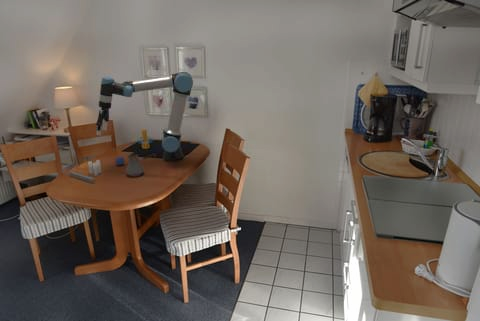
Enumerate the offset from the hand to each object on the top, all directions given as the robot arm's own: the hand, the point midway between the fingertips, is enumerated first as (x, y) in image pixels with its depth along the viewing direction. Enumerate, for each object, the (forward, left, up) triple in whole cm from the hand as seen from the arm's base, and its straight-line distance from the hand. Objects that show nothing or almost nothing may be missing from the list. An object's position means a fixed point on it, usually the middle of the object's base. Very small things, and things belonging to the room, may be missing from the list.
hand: (101, 132), depth 224 cm
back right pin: (+1, +12, -26) cm, 28 cm away
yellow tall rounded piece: (+13, -48, -26) cm, 56 cm away
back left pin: (-4, +12, -26) cm, 29 cm away
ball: (-2, -10, -23) cm, 25 cm away
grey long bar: (-2, +20, -26) cm, 33 cm away
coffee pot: (-30, -5, -26) cm, 40 cm away
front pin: (-2, +7, -26) cm, 27 cm away
